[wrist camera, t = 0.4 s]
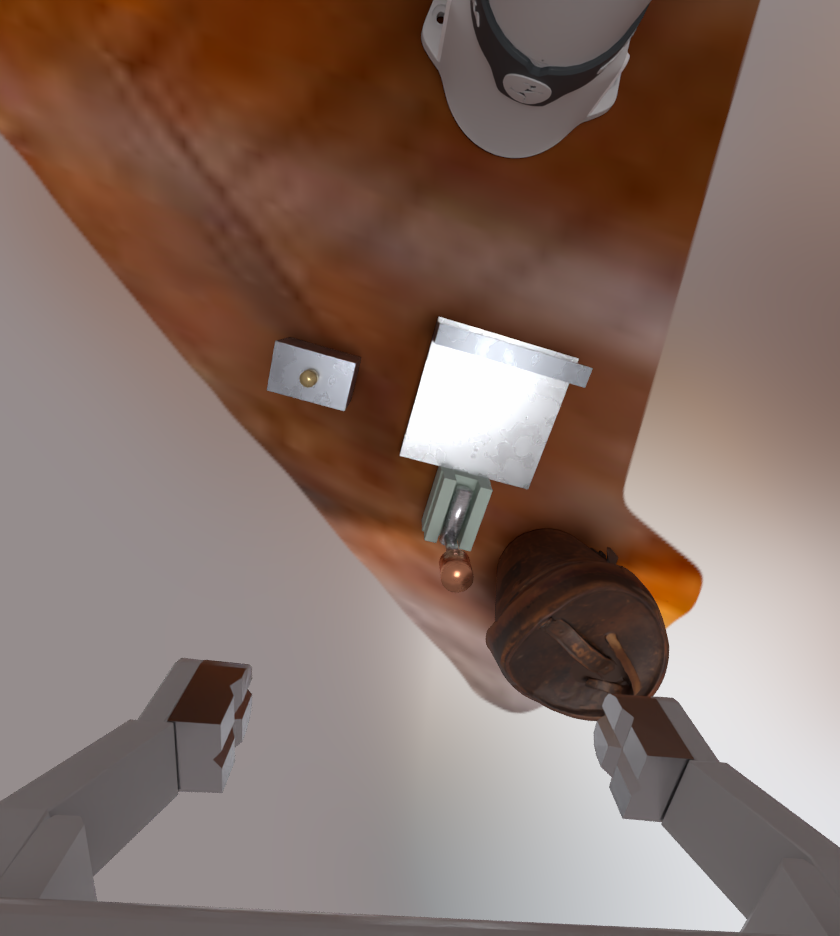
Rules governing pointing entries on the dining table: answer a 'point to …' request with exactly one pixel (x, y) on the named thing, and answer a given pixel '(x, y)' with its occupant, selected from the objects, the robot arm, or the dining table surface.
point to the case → (574, 625)
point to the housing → (313, 373)
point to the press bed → (487, 403)
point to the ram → (455, 544)
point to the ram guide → (442, 500)
